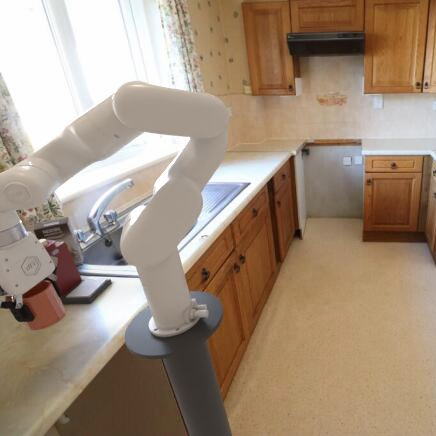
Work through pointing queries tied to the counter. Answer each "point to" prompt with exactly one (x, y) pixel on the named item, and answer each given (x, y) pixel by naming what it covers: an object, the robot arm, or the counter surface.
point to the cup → (43, 305)
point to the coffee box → (60, 236)
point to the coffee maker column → (64, 266)
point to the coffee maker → (84, 290)
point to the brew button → (43, 242)
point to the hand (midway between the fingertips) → (41, 307)
